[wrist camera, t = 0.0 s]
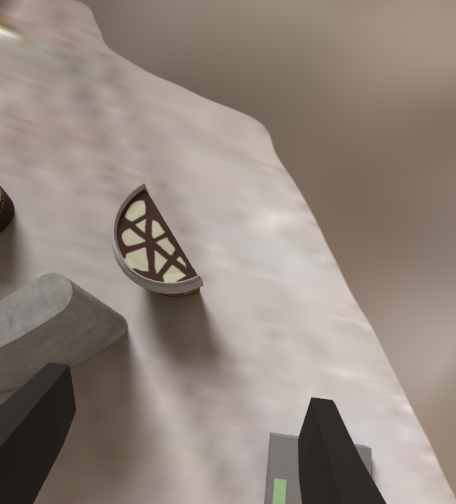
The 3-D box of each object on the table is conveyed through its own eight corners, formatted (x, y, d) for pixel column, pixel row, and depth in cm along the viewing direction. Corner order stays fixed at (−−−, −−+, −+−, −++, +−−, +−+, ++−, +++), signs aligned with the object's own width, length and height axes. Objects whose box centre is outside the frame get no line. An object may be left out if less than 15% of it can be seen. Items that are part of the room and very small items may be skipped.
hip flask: (121, 308, 45) (50, 255, 26) (133, 341, 44) (69, 310, 25) (-17, 369, 42) (-208, 359, 23) (-8, 405, 41) (-201, 425, 22)
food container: (112, 241, 47) (85, 206, 38) (156, 218, 48) (141, 178, 39) (159, 328, 44) (143, 314, 35) (206, 301, 45) (202, 280, 36)
